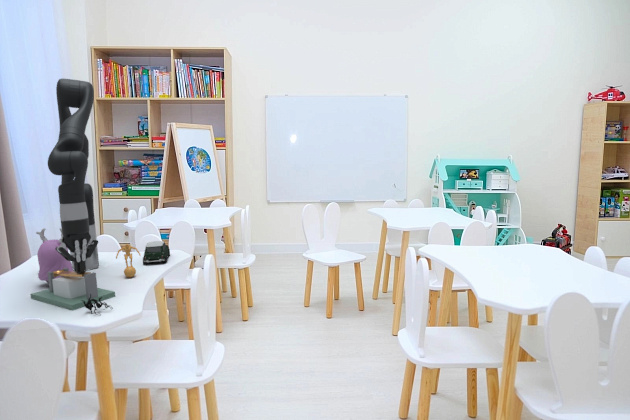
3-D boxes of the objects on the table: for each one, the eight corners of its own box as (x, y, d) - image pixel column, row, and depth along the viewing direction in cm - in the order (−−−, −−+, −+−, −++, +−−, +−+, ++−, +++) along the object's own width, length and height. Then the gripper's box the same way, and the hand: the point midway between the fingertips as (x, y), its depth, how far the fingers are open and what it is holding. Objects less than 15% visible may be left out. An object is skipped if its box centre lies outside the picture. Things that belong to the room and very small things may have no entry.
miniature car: (170, 254, 204) (169, 236, 203) (166, 264, 187) (164, 245, 186) (149, 256, 202) (147, 238, 201) (142, 266, 185) (140, 246, 184)
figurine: (118, 280, 166) (115, 247, 164) (117, 276, 171) (114, 244, 170) (143, 276, 170) (140, 244, 168) (141, 272, 175) (138, 241, 173)
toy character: (83, 281, 166) (77, 225, 163) (59, 290, 156) (52, 231, 154) (57, 279, 170) (51, 224, 167) (32, 287, 160) (25, 230, 158)
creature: (116, 310, 139) (89, 305, 138) (119, 293, 138) (91, 288, 137) (106, 320, 131) (77, 315, 130) (109, 301, 130) (79, 297, 130)
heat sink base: (31, 298, 148) (27, 270, 147) (73, 286, 160) (70, 260, 159) (72, 310, 136) (69, 280, 135) (115, 296, 148) (112, 268, 147)
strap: (52, 277, 150) (51, 271, 150) (61, 274, 153) (60, 269, 153) (82, 278, 141) (81, 273, 141) (91, 276, 144) (90, 270, 144)
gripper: (87, 214, 149) (93, 267, 152) (45, 220, 138) (52, 277, 141) (101, 215, 145) (107, 269, 148) (59, 221, 134) (66, 280, 137)
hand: (80, 273), depth 144 cm, fingers closed
